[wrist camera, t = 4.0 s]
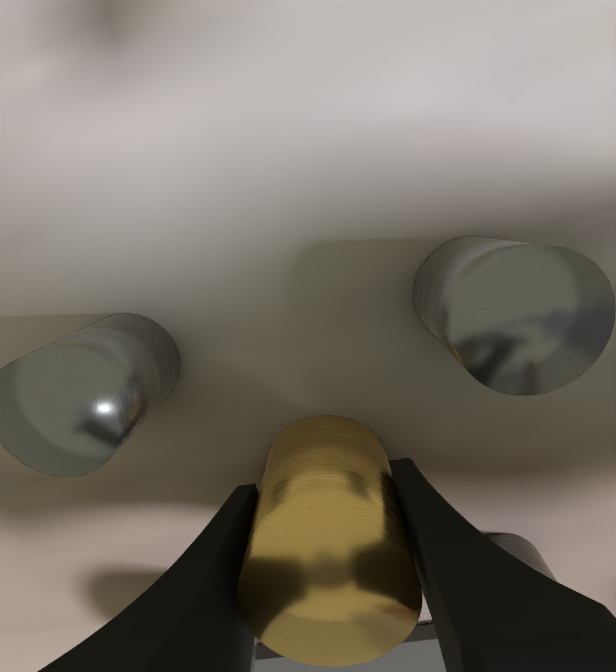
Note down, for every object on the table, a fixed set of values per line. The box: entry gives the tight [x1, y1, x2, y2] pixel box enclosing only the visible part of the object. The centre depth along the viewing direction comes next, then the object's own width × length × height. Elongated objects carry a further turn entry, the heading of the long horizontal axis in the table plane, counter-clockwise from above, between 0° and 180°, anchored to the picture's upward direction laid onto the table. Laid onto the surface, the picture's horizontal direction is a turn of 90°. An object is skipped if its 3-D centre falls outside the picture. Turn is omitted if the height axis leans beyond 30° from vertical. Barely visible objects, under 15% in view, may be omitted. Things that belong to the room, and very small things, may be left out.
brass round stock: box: [237, 416, 422, 667], centre depth 12 cm, size 4×4×5 cm
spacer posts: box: [0, 236, 615, 672], centre depth 12 cm, size 14×14×4 cm
